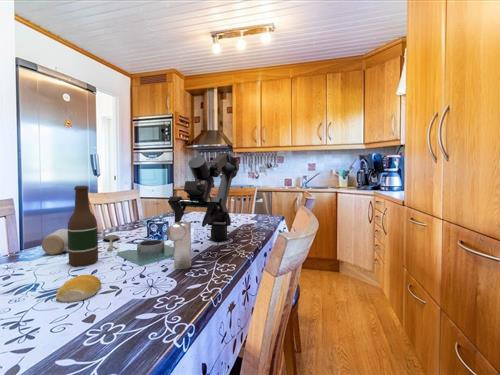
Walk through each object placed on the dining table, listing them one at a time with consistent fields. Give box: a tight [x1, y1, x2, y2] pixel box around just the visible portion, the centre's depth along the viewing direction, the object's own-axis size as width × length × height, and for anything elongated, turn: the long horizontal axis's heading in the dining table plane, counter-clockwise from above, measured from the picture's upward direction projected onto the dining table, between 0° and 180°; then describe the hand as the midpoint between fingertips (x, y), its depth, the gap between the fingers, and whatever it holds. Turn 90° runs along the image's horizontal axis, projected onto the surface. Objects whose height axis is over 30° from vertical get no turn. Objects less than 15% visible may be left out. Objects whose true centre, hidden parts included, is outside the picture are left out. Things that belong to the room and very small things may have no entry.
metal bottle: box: [166, 221, 192, 270], centre depth 78 cm, size 8×5×13 cm, turn 167°
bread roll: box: [55, 274, 102, 303], centre depth 62 cm, size 8×9×4 cm
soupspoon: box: [102, 234, 121, 252], centre depth 104 cm, size 22×3×7 cm
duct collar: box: [116, 239, 174, 266], centre depth 91 cm, size 16×16×4 cm
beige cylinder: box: [41, 228, 68, 256], centre depth 94 cm, size 11×8×8 cm
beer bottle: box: [67, 185, 99, 268], centre depth 82 cm, size 8×8×24 cm
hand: (188, 225), depth 83 cm, fingers open, 9 cm apart
